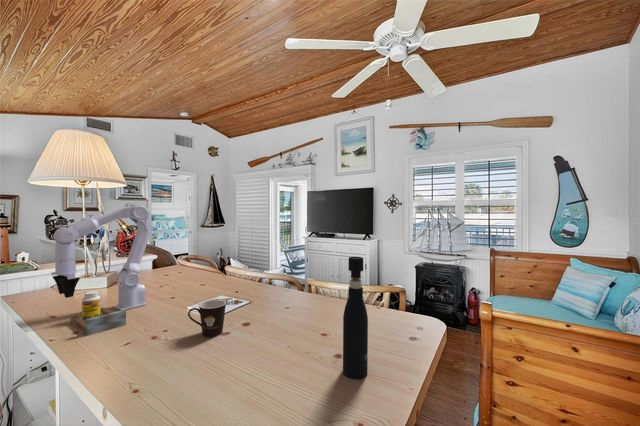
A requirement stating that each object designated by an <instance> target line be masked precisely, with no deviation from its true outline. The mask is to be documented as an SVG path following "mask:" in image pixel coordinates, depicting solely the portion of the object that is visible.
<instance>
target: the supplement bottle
mask: <svg viewBox="0 0 640 426" xmlns="http://www.w3.org/2000/svg"><path fill="white" fill-rule="evenodd" d="M97 316H101V296H100V295H99V292H98V291H97V290H90V291H87V292H85V293H84V297H83V298H82V299H81V319H82V320H83V321H85V322H86V319H89V318H93V317H97Z"/></svg>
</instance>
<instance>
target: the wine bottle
mask: <svg viewBox="0 0 640 426" xmlns="http://www.w3.org/2000/svg"><path fill="white" fill-rule="evenodd" d="M347 269H348V271H349V272H350V279H349V285H348V297H347V300H346V303H345V306H344V309H343V315H342V316H343V318H342V319H343V320H342V332H343V333H342V373H343V375H344V377H345V376H346V378H349V379H352V380H361V379H364V378H366V377H367V376H368V366H369V365H368V364H369V363H368V360H369V359H368V355H369V354H368V352H369V351H368V349H369V347H368V346H369V345H368V344H369V341H368V340H369V317H368V311H367V307H366V303H365V301H364V287H363V282H362V281H363V280H362V279H361V278H362V276H361V275H362V274H361V272H363V271H364V258H363V257H361V256H350V257H348V268H347Z"/></svg>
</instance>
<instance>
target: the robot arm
mask: <svg viewBox="0 0 640 426" xmlns="http://www.w3.org/2000/svg"><path fill="white" fill-rule="evenodd" d="M120 219H130V220H131V221H133V223H135V225H136V227H137V231H136V233H135V236H134V239H133V242H132V244H131V248H130V251H129V252H128V253H129V254H128V256H127V259H126V262H125V263H124V264H123V265H122V268H121V269H120V271H119V272H118V273H117V275H116V280H117V282H118V283H119V284H118V289H117V290H118V291H117V293H118V294H117V296H118V298H117V301H118V302H117V303H118V304H116V305H114V306H113V307H114V308H116V309H117V310H118V311H121V310H125V311H127V310H130V309H134V308H138V307H141V306H146V305H147V304H146V288H145V285H144V284H143V283H139V282H140V280H141V274H140V273H141V262H142V259H143V256H144V253H145V250H146V247H147V244H148V241H149V239H150V236H151V233H152V229H153V228H154V227H153V221H152V218H151V212H150V210H149V209H148V208H147V207H146V205H142V204H138V205H137V204H136V205H135V204H132V205H129V206H126V207H125V206H124V207H121V208H118V209H116V210H114V211H111V212H109V213H107V214H104V215H101V216H99V217H97V218H93V217H88V218H86V217H82V218H81V220H80V221H77V222H74V223H72V224H71V223H69V224H68V223H67V225H66V226H67V227H59V228H57V229H56V230H55V231H54V233H53V235H52V237H53V239H54V241H55V244H54V245H55V248H54V261H55V267H54V268H55V271H53V272H51V273H50V275H51V276H52V279H53V280H54V282H55V284H56V286H57V287H56V288H57V290H58V294H60V295H63V294H64V298H65V299H67V298H73V297H74V294H75V290H76V286H77V284H78V282H79V281H80V279H81V278H80V276H79V277H76V273H77V269H76V268H77V267H76V265H77V264H76V263H77V261H76V244H75V243H76V240H77V238H78V239H80V238H83V237H85V236H87V235H90V234H93V233H95V232H97V231H98V229H99V228H100V226H103V225H106V224H109V223H112V222H114V221H116V220H120Z"/></svg>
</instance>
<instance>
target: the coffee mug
mask: <svg viewBox="0 0 640 426" xmlns="http://www.w3.org/2000/svg"><path fill="white" fill-rule="evenodd" d="M226 306H227V302H226V301H225V300H221V299H212V300H206V301H203V302H201V303H199V304H198V308H197V307H192V308H190V309H189V310H188V312H187V316H188V318H189V319H190V321H192V322H193V323H195V324H197V325H199V326H200V327H201V332H202V333H201V334H202V336H203V337H204V338H215V337H218V336H220V335H222V334H223V331H224V330H223V329H224V321H225V314H226V308H227V307H226ZM192 311H197V313H198V314H199V315H200V322H199V321H197V320H196V319H194V318H193V317H192V316H191V312H192Z"/></svg>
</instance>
